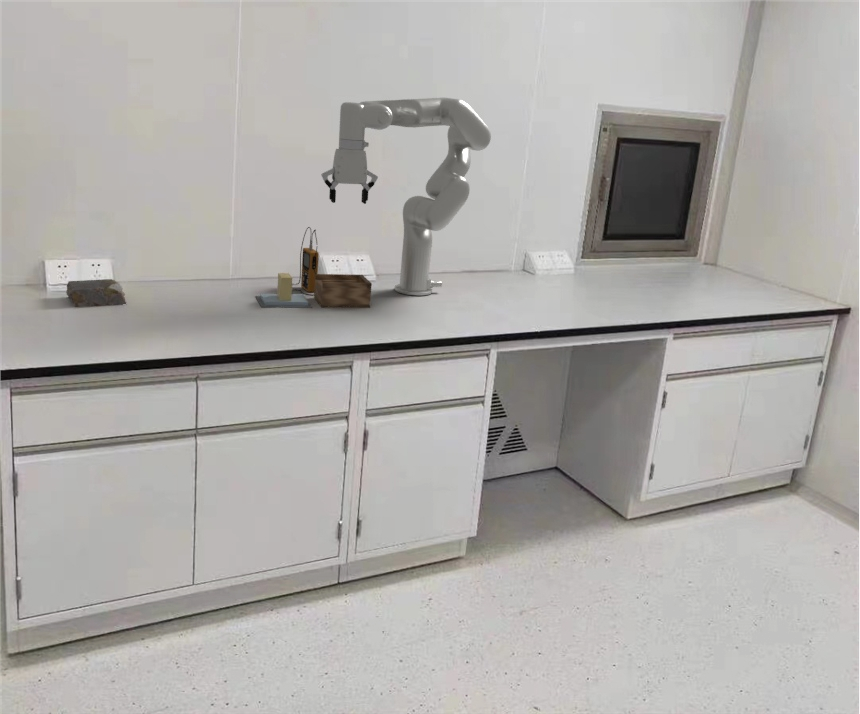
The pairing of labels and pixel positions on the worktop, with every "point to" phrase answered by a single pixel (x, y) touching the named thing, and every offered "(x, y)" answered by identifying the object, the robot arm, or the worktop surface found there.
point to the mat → (283, 305)
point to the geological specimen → (95, 293)
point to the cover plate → (277, 302)
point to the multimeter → (308, 266)
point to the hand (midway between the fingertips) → (348, 202)
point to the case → (342, 290)
